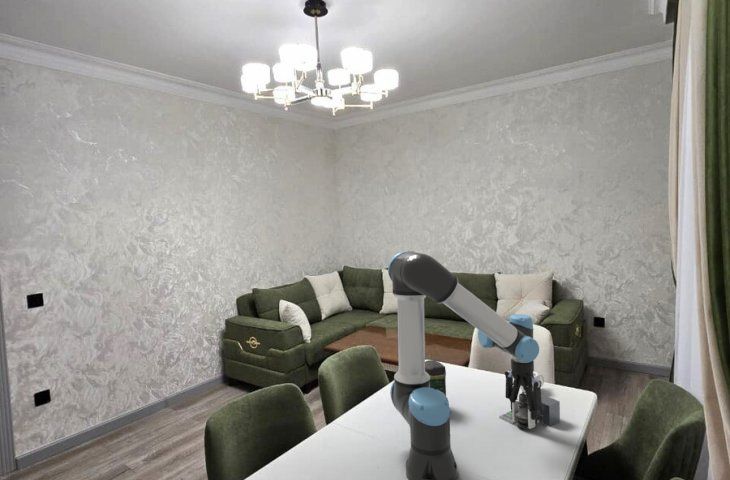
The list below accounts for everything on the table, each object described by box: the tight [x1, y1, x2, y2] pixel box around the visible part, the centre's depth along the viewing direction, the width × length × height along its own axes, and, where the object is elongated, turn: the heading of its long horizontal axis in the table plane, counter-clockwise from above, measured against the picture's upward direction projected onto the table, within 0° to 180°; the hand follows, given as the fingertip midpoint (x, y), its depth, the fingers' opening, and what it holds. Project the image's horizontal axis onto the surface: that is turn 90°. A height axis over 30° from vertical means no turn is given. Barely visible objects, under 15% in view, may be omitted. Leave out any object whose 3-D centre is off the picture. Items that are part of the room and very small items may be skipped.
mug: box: [520, 370, 545, 394], centre depth 172 cm, size 12×8×8 cm
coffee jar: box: [425, 359, 447, 396], centre depth 159 cm, size 10×8×19 cm
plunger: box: [510, 406, 542, 426], centre depth 149 cm, size 9×10×5 cm
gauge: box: [499, 393, 561, 428], centre depth 148 cm, size 15×14×8 cm
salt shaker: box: [515, 391, 529, 429], centre depth 143 cm, size 6×6×12 cm
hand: (523, 423), depth 143 cm, fingers closed on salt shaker, 6 cm apart
